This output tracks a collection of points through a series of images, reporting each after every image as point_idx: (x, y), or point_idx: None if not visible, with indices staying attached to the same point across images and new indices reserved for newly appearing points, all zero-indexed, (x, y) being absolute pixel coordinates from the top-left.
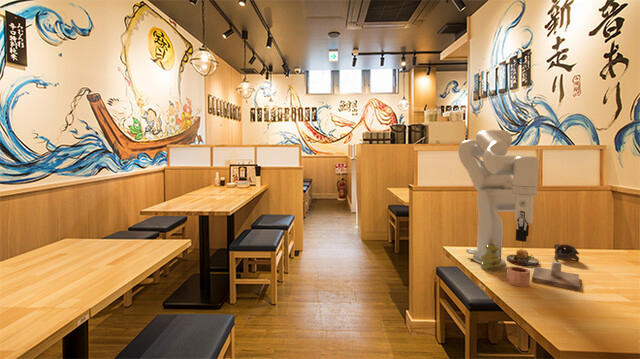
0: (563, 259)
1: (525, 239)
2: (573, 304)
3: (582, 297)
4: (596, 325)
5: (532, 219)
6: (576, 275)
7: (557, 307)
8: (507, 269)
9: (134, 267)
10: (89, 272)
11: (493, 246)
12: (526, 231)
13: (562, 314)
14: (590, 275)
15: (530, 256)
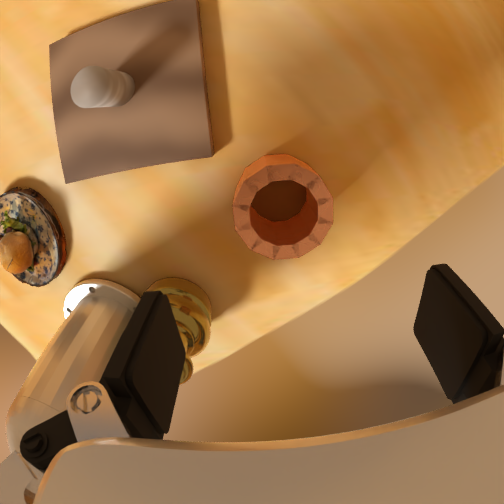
0: None
1: (452, 277)
2: (366, 17)
3: None
4: (462, 3)
5: (316, 499)
6: (63, 44)
7: (425, 65)
8: (300, 253)
9: None
10: None
11: None
12: (497, 324)
13: (459, 62)
14: (13, 41)
15: (6, 223)
